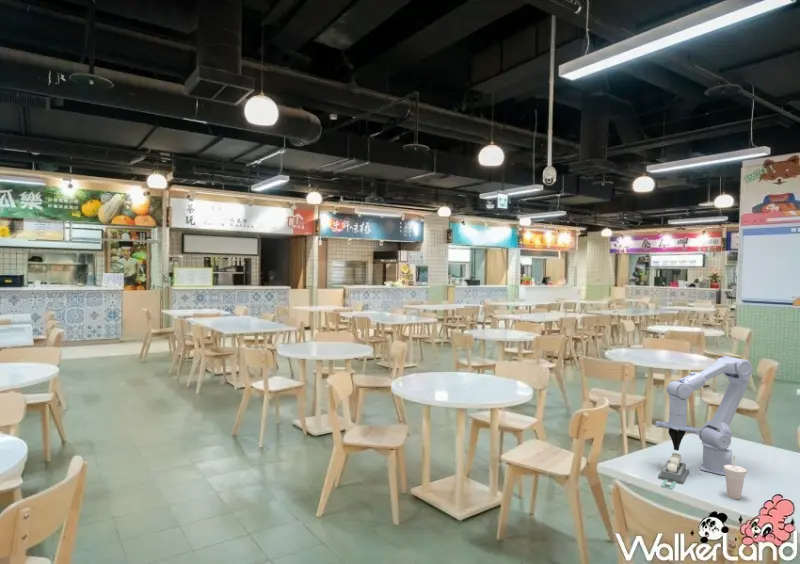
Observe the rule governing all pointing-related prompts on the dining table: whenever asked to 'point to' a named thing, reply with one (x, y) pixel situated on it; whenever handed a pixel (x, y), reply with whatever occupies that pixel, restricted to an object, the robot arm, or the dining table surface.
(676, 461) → the button mid
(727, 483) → the smoothie
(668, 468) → the button
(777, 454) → the dining table surface
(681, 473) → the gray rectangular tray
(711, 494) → the dining table surface
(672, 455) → the button
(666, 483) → the card
